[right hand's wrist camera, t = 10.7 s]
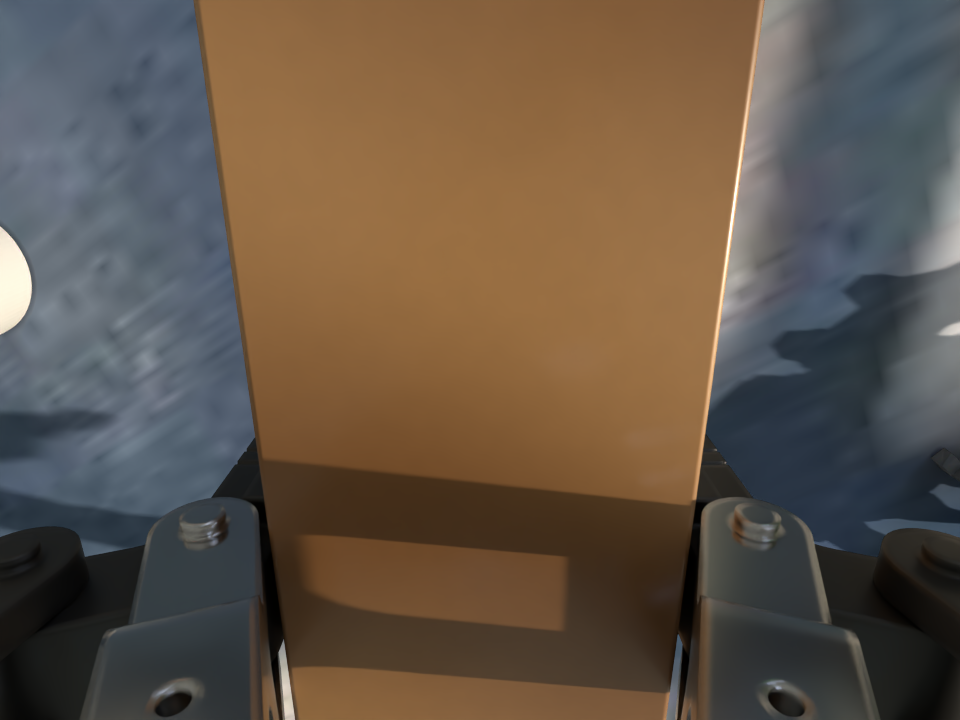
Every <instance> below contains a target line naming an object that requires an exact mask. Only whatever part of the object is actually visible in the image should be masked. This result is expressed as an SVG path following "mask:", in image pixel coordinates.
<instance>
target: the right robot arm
mask: <svg viewBox="0 0 960 720" xmlns="http://www.w3.org/2000/svg"><path fill="white" fill-rule="evenodd" d="M678 634H679V636H680V639H681V641H682V644H683V646H682V653H681V660H680V666H679V678H678V690H677V703H676V716H675V720H960V538H959V537H956V536H953V535H950V534H946V533H942V532H938V531H933V530H928V529H919V528H905V529H898V530H894V531H892V532H890V533H888V534H887V535H886V536H885V537H884V538H883V541H882V544H881V548H880V552H879V555H878V557H873V556H868V555H862V554H857V553H852V552H847V551H842V550H836V549H832V548H827V547H823V546H820V545H816V544H814V540H813V536H812V533H811V531H810V529H809V528H808V526H807V525H806V524H805V523H804V522H803V521H802V520H801V519H799V518H798V517H797V516H796V515H794V514H792V513H791V512H789V511H787V510H785V509H783V508H781V507H779V506H777V505H774V504H772V503H768V502H765V501H762V500H757V499H753V497H752V496H751V495H750V493H749V492H748V491H747V489H746V488H745V487H744V485H743V484H742V482H741V481H740V480H739V478H738V477H737V476H736V474H735V473H734V472H733V470H732V469H731V468H730V466H729V465H726V461H725V459H724V458H723V457H722V455H721V454H720V453H719V452H717V449H716V447H715V446H714V444H713V443H712V442H711V440H710V439H709V438H708V436H707V435H706V434H705V438H704V446H703V453H702V460H701V467H700V475H699V482H698V489H697V497H696V504H695V511H694V518H693V526H692V533H691V540H690V548H689V555H688V562H687V569H686V577H685V584H684V591H683V599H682V606H681V613H680V620H679V628H678ZM283 639H284V636H283V629H282V622H281V615H280V608H279V601H278V594H277V587H276V580H275V572H274V565H273V558H272V551H271V544H270V537H269V530H268V523H267V516H266V509H265V502H264V495H263V488H262V481H261V474H260V466H259V459H258V452H257V445H256V438H254V439H253V441H252V442H251V444H250V445H249V446H248V448H247V452H244V453H243V455H242V456H241V457H240V459H239V460H238V464H237V465H235V466H234V467H233V468H232V470H231V471H230V473H229V474H228V475H227V477H226V478H225V479H224V481H223V482H222V484H221V485H220V486H219V488H218V489H217V490H216V492H215V493H214V495H213V496H212V497H211V498H208V499H203V500H198V501H195V502H192V503H188V504H186V505H183V506H181V507H179V508H177V509H174V510H172V511H171V512H169V513H167V514H166V515H164V516H163V517H162V518H160V519H159V520H158V521H157V522H156V523H155V524H154V525H153V526H152V528H151V529H150V531H149V533H148V536H147V540H146V545H142V546H138V547H134V548H129V549H124V550H118V551H113V552H108V553H103V554H98V555H93V556H87V557H85V556H84V552H83V548H82V544H81V541H80V538H79V536H78V534H76V533H75V532H74V531H72V530H70V529H67V528H63V527H38V528H31V529H26V530H22V531H18V532H14V533H11V534H8V535H5V536H2V537H0V720H285V716H284V704H283V691H282V678H281V667H280V660H279V653H278V652H279V650H280V647H281V645H282V642H283Z"/></svg>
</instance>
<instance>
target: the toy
mask: <svg viewBox="0 0 960 720" xmlns="http://www.w3.org/2000/svg"><path fill="white" fill-rule="evenodd" d="M931 459H932V460H933V461H934V462H935V463H936V464H937V465H938V466H939V467H940V468H941V469H942V470H943V471H945V472H946V473H948V474H949V475H951V476H952V477H954V478H955V479H957V480H958V481H960V461H959V460H958V459H957V458H956V457H955V456H954V455H953V454H952V453H951V452H949V451H948V450H946V449H945V448H943V449H942V450H941V451H939V452H938V453H937V454H936V455H934V456H933V457H932V458H931Z"/></svg>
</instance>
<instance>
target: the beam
mask: <svg viewBox="0 0 960 720" xmlns="http://www.w3.org/2000/svg"><path fill="white" fill-rule="evenodd" d="M764 1H765V0H194V7H195V14H196V21H197V28H198V35H199V43H200V50H201V57H202V64H203V71H204V78H205V85H206V92H207V99H208V106H209V113H210V120H211V127H212V134H213V141H214V149H215V156H216V163H217V170H218V177H219V184H220V191H221V198H222V205H223V212H224V219H225V226H226V233H227V240H228V247H229V255H230V262H231V269H232V276H233V283H234V290H235V297H236V304H237V311H238V318H239V325H240V332H241V339H242V346H243V353H244V360H245V368H246V375H247V382H248V389H249V396H250V403H251V410H252V417H253V424H254V431H255V438H256V445H257V452H258V459H259V466H260V474H261V481H262V488H263V495H264V502H265V509H266V516H267V523H268V530H269V537H270V544H271V551H272V558H273V565H274V572H275V580H276V587H277V594H278V601H279V608H280V615H281V622H282V629H283V636H284V643H285V650H286V657H287V664H288V671H289V678H290V686H291V693H292V700H293V707H294V714H295V720H666V715H667V708H668V701H669V693H670V686H671V679H672V672H673V664H674V657H675V650H676V642H677V635H678V628H679V620H680V613H681V606H682V599H683V591H684V584H685V577H686V569H687V562H688V555H689V548H690V540H691V533H692V526H693V518H694V511H695V504H696V497H697V489H698V482H699V475H700V467H701V460H702V453H703V446H704V438H705V431H706V424H707V416H708V409H709V402H710V395H711V387H712V380H713V373H714V365H715V358H716V351H717V344H718V336H719V329H720V322H721V314H722V307H723V300H724V293H725V285H726V278H727V271H728V263H729V256H730V249H731V242H732V234H733V227H734V220H735V212H736V205H737V198H738V191H739V183H740V176H741V169H742V161H743V154H744V147H745V140H746V132H747V125H748V118H749V110H750V103H751V96H752V88H753V81H754V74H755V67H756V59H757V52H758V45H759V37H760V30H761V23H762V16H763V8H764Z"/></svg>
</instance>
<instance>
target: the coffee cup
mask: <svg viewBox="0 0 960 720" xmlns="http://www.w3.org/2000/svg"><path fill="white" fill-rule="evenodd" d="M31 290H32V286H31V276H30V272H29V268H28V265H27V263H26V260H25V258H24V256H23V254H22V252H21V250H20V249H19V247H18V246H17V244H16V243H15V241H14V240H13V239H12V238H11V237H10V236H9V234H8V233H7V232H6V231H5V230H4V229H3V228H1V227H0V335H1V334H2V333H4V332H6V331H8V330H10V329H11V328H13V327H14V326H15V325H16V324H17V323H18V322H19V321H20V320H21V319H22V317H23V316H24V315H25V313H26V311H27V309H28V306H29V303H30V299H31Z"/></svg>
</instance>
